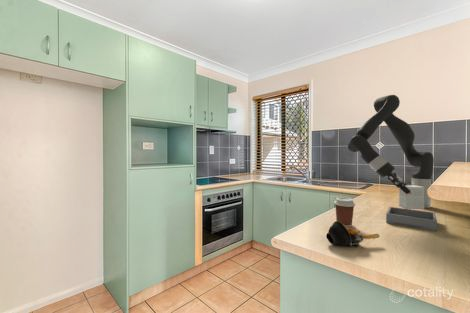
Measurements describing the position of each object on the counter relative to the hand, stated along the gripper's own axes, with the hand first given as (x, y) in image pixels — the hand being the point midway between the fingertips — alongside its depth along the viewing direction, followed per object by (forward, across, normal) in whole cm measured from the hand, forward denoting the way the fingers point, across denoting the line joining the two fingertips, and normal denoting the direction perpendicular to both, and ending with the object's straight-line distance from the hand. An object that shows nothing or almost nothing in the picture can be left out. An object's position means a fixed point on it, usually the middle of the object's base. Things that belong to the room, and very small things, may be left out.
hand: (409, 191), depth 108 cm
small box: (+6, 0, +5) cm, 8 cm away
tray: (+11, 0, +10) cm, 15 cm away
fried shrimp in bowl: (0, -45, +22) cm, 50 cm away
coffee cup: (-6, -23, +27) cm, 36 cm away
